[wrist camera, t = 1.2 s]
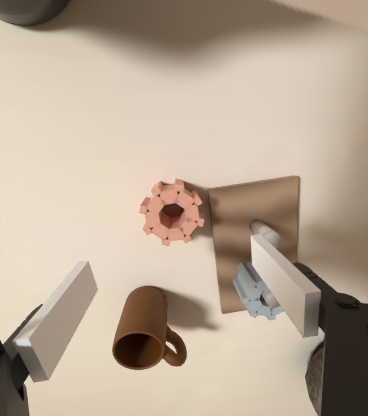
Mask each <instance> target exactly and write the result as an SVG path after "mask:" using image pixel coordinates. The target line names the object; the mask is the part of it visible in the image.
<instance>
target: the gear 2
mask: <svg viewBox="0 0 368 416" xmlns="http://www.w3.org/2000/svg"><path fill="white" fill-rule="evenodd" d="M237 267H238V269H239V271H240V272H239V274H238V277H237V278H233V283H234V286H235V288H236V290H237V292H238V294H239V296H240V299H241V301H242V303H243V305H244V304H245V306H246V308H247V310H248V312H249V314H250V315H251V316H252V317H254V318H255V317H256V316H257V315H263V316H266V317H267V318H268V320H273V319H275V315H277V314H279V313H281V312H283V311H284V309H283V308H282V307H281V305H280V306H279V307H276V308H271V307H269V306H268V304H267V303H266V301H265V299H264V298H263V296H262V295H261V294H262V291H264V290H266V289H268V287H267V285H266V284H265V283H264V281H263V280H262V278H261V277H260V275H259V274H258V273H257V271H256V270H255V268H254V267H253V266H252V261H250V262H248V263H246V264H243V263H242V262H241V263H240V264H239V265H238V266H237Z"/></svg>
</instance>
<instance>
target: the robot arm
mask: <svg viewBox="0 0 368 416" xmlns="http://www.w3.org/2000/svg"><path fill="white" fill-rule="evenodd" d="M68 1H69V0H0V19H1V20H3V21H6V22H9V23H13V24H19V25H34V24H39V23H42V22H45V21H47V20H49V19H51V18H53V17H54V16H56V15H57V14H58V13H59V12H60V11H61V10H62V9H63V8H64V7H65V6H66V4H67V3H68ZM251 252H252V266H253V267H254V268H255V270H256V271H257V273H258V274H259V275H260V277H261V278H262V280H263V281H264V283H265V284H266V285H267V287H268V288H269V290H270V291H271V292H272V294H273V295H274V297H275V298H276V300H277V301H278V302H279V304H280V305H281V307H282V308H283V309H284V311H285V312H286V314H287V315H288V317H289V318H290V319H291V321H292V322H293V324H294V325H295V326H296V328H297V329H298V331H299V332H300V334H301V335H302V336H303V338H304V337H310V336H316V335H318V328H319V327H320V328H321V329H322V331H323V332H324V333H325V337H324V348H323V349H324V351H323V367H322V382H321V397H320V413H319V416H368V304H364V303H361V302H360V301H359V300H357V299H356V298H354V297H352V296H350V295H347V294H344V293H338V292H336V291H335V290H334V289H333V288H332V287H331V286H329V285H328V284H327V283H326V282H325V281H323V280H322V279H321V278H320V277H318V275H316V274H315V273H313V271H312V270H311V269H309V268H308V267H307V266H305V265H303V264H301V263H293V264H292V263H291V262H290V261H288V260H287V259H286V258H285V257H284V256H283V255H282V254H281V253H280V252H279V251H278V250H277V249H276V248H275V247H273V246H272V245H271V244H270V243H269V242H268V241H267V240H266V239H265V238H264V237H263V236H262V235H261V234H256V235H251ZM97 290H98V289H97V286H96V282H95V279H94V276H93V273H92V270H91V267H90V264H89V261H85V262H79V263H78V264H77V265H76V266H75V268H74V269H73V270H72V271H71V272H70V274H69V275H68V276H67V277H66V278H65V279H64V281H63V282H62V283H61V284H60V285H59V287H58V288H57V289H56V290H55V291H54V292H53V294H52V295H51V296H50V297H49V298H48V299H47V301H46V302H45V303H44V304H41V305H40V306H38V307H37V308H36V309H35V310H33V311H32V312H31V313H30V314H29V316H28V317H27V318H26V320H24V321H23V322H22V324H21V325H20V326H19V327H18V328H17V329H16V330H15V332H14V333H13V334H12V335H11V336H10V337H9V338H8V339H7V341H6V342H5V343H4V344H3V345H2V343H1V341H0V416H29V408H28V399H27V390H26V386H25V384H24V381H25V380H26V378H27V377H28V375H30V377H31V379H32V380H33V382H39V381H45V380H49V379H50V377H51V375H52V373H53V371H54V369H55V368H56V366H57V364H58V362H59V360H60V358H61V357H62V355H63V353H64V351H65V349H66V347H67V345H68V344H69V342H70V340H71V338H72V336H73V334H74V333H75V331H76V329H77V327H78V325H79V323H80V322H81V320H82V318H83V316H84V314H85V312H86V311H87V309H88V307H89V305H90V303H91V301H92V299H93V298H94V296H95V294H96V292H97Z"/></svg>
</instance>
